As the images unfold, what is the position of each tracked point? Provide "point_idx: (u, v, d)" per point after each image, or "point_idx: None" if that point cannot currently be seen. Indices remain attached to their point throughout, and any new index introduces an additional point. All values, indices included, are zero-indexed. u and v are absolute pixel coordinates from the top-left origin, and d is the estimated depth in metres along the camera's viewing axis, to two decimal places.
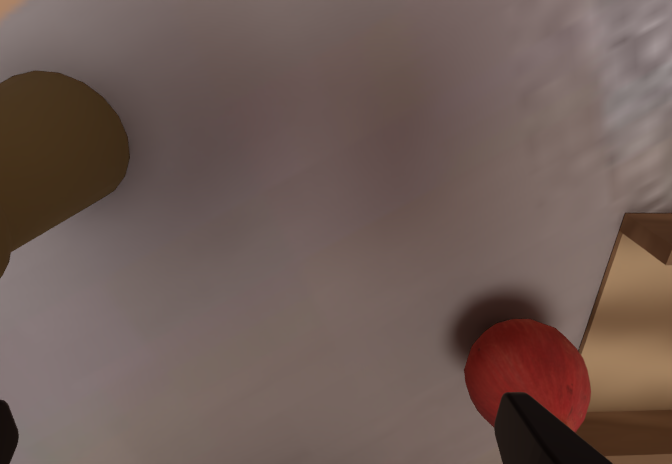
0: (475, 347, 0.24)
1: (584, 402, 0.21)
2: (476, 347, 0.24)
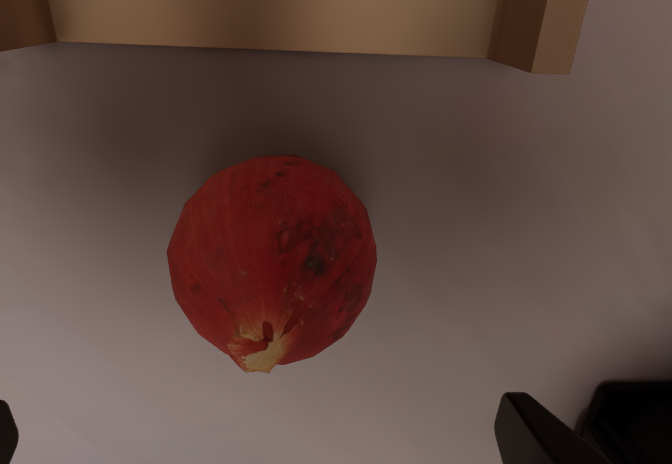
0: None
1: (224, 258, 0.10)
2: None
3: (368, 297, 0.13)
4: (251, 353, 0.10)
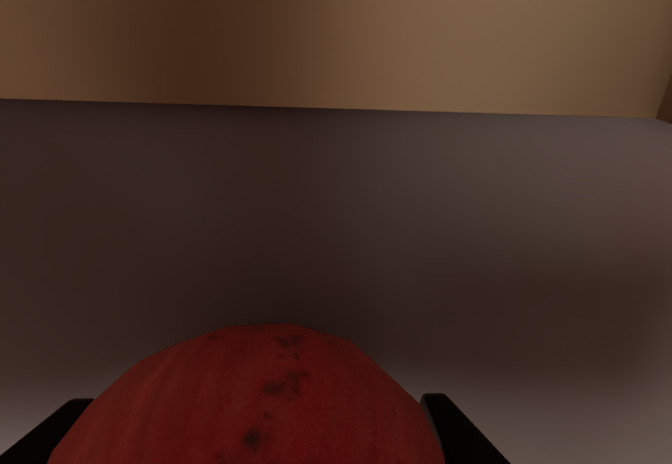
0: None
1: None
2: None
3: None
4: None
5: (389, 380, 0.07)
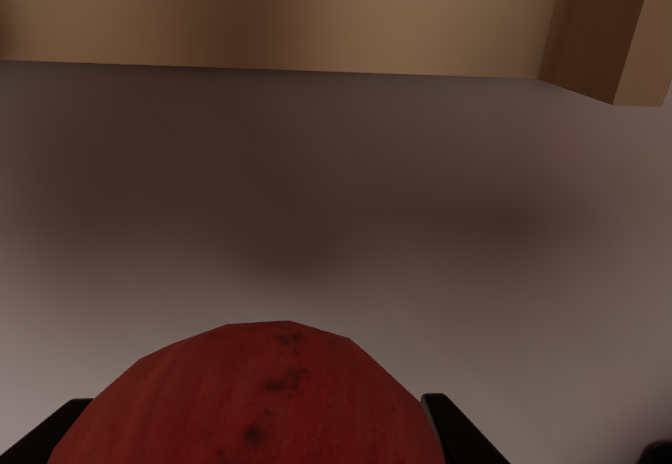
0: None
1: None
2: None
3: None
4: None
5: (389, 378, 0.07)
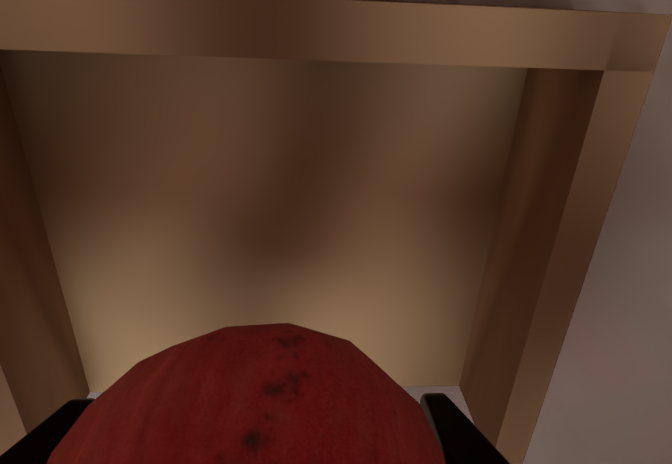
0: None
1: None
2: None
3: None
4: None
5: (389, 380, 0.07)
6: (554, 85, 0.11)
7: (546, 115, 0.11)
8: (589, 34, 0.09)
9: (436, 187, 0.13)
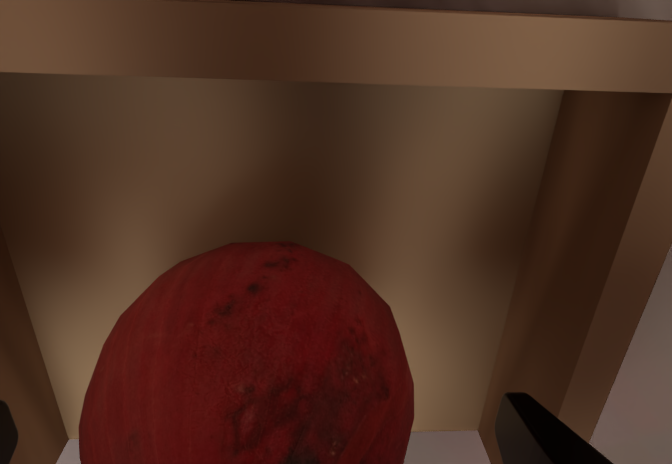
0: None
1: (139, 454, 0.06)
2: None
3: None
4: None
5: (362, 281, 0.09)
6: (601, 107, 0.09)
7: (590, 141, 0.09)
8: (658, 50, 0.07)
9: (457, 218, 0.12)
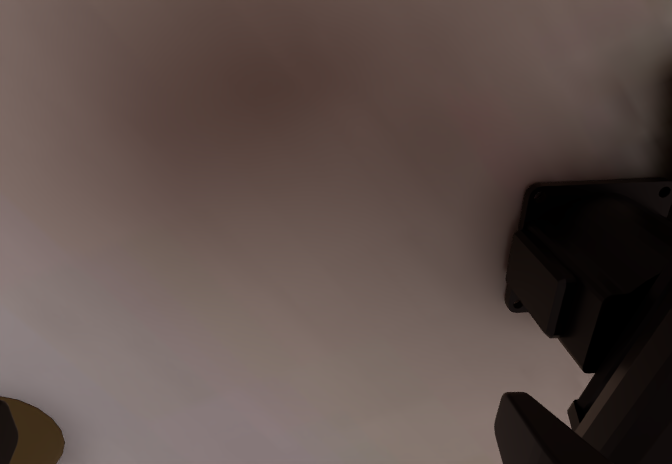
0: None
1: None
2: None
3: None
4: None
5: None
6: None
7: None
8: None
9: None
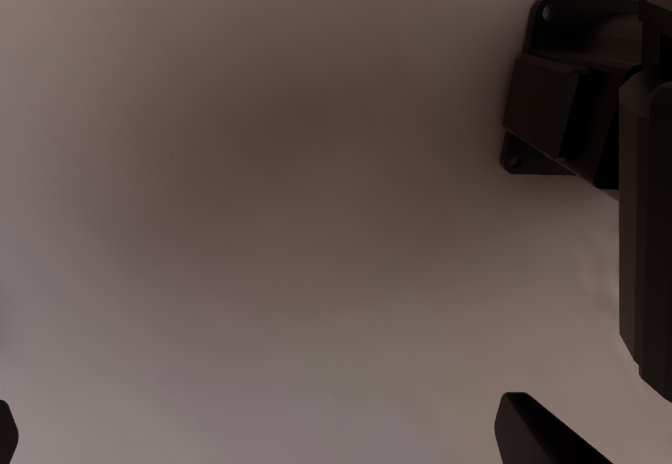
0: None
1: None
2: None
3: None
4: None
5: None
6: None
7: None
8: None
9: None
